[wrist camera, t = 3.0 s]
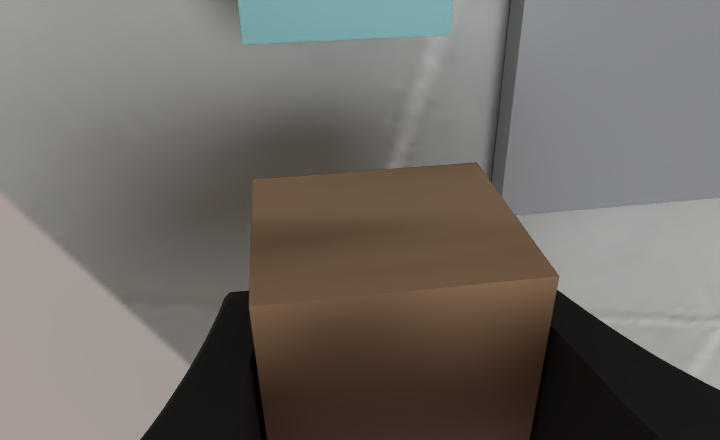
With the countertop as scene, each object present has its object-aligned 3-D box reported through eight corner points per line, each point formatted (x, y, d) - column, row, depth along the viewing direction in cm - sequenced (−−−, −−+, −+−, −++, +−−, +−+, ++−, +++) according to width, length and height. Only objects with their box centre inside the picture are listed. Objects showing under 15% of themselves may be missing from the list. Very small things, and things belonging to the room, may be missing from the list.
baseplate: (817, 174, 22) (840, 187, 21) (489, 201, 20) (499, 216, 19) (989, -252, 15) (1032, -258, 15) (537, -252, 14) (555, -260, 13)
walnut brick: (460, 349, 15) (519, 493, 11) (274, 369, 14) (279, 527, 11) (476, 162, 12) (559, 275, 9) (252, 179, 12) (248, 306, 8)
